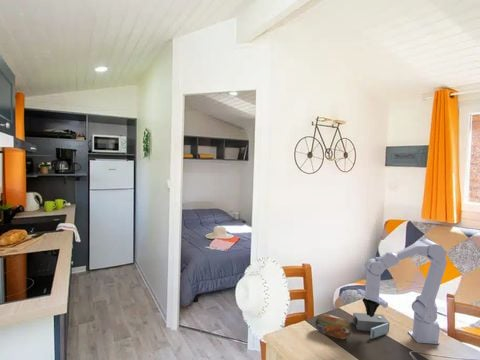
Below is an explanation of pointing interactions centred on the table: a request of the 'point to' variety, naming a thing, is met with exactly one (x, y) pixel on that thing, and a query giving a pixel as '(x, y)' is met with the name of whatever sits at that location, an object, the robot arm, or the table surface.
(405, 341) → the table surface
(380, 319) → the camcorder
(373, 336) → the side door
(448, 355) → the table surface
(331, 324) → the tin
